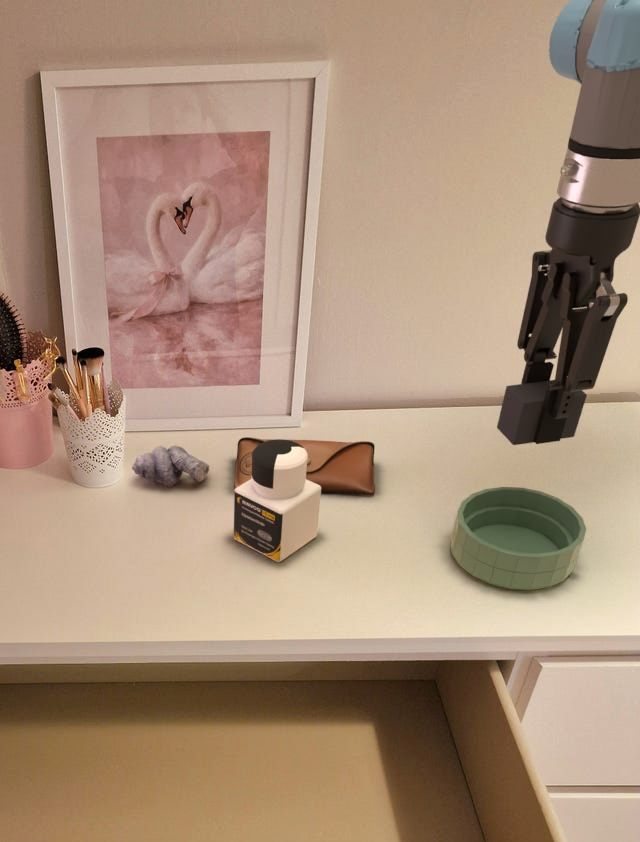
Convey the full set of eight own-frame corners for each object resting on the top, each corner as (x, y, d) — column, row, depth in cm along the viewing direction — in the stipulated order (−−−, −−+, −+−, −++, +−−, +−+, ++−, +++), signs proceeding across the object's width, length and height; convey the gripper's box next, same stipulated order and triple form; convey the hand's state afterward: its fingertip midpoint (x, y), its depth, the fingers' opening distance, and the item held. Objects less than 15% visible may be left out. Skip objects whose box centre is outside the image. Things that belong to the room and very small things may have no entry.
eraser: (555, 419, 97) (567, 377, 94) (574, 437, 94) (587, 394, 91) (496, 427, 96) (506, 385, 93) (513, 445, 93) (523, 403, 90)
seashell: (210, 485, 114) (134, 491, 114) (207, 444, 114) (131, 450, 114) (211, 481, 109) (132, 487, 109) (208, 438, 108) (128, 444, 108)
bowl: (538, 516, 104) (549, 480, 100) (595, 584, 94) (609, 547, 91) (432, 530, 102) (439, 494, 99) (479, 600, 93) (489, 563, 89)
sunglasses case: (233, 490, 110) (235, 436, 108) (235, 488, 116) (237, 437, 115) (378, 494, 108) (382, 439, 106) (371, 492, 114) (375, 440, 113)
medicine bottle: (232, 539, 103) (233, 450, 95) (271, 514, 106) (276, 425, 98) (278, 564, 99) (284, 473, 91) (317, 537, 103) (326, 447, 94)
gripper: (515, 179, 85) (470, 398, 101) (610, 235, 73) (541, 475, 89) (587, 171, 86) (531, 390, 102) (693, 225, 73) (610, 465, 89)
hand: (536, 429), depth 95 cm, fingers closed on eraser, 4 cm apart
